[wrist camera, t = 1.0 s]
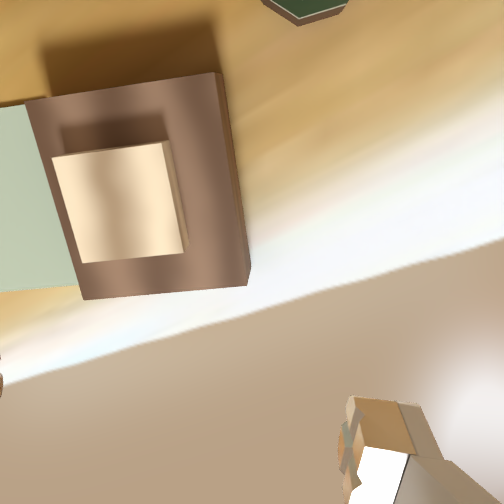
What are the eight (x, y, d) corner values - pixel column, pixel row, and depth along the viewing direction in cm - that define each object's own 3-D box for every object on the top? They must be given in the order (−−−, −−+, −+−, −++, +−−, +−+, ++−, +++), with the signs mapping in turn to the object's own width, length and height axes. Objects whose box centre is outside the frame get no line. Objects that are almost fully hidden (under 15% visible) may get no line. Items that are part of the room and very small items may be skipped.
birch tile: (169, 139, 31) (161, 143, 29) (189, 243, 34) (183, 252, 32) (65, 153, 32) (51, 157, 30) (93, 254, 35) (82, 263, 33)
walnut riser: (222, 74, 33) (214, 72, 29) (251, 266, 38) (246, 285, 34) (52, 100, 34) (23, 101, 31) (102, 280, 40) (83, 300, 36)
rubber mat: (46, 101, 35) (44, 101, 34) (97, 281, 40) (96, 283, 40) (-86, 121, 36) (-89, 121, 36) (-19, 292, 41) (-22, 294, 41)
